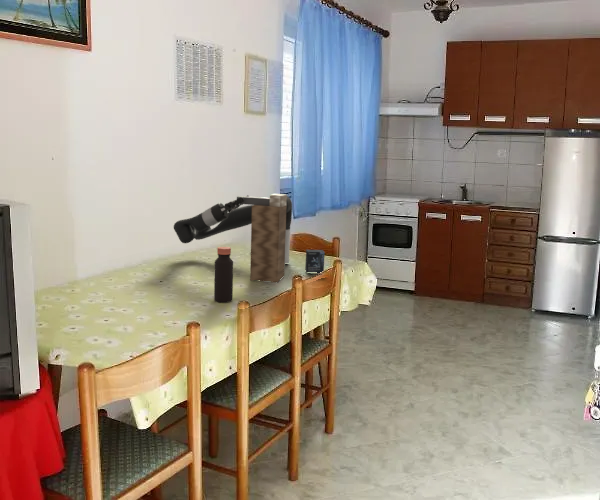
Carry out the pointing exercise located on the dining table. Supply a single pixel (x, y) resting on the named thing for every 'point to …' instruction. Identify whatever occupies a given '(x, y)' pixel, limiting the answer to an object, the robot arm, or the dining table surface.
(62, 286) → the dining table surface
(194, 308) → the dining table surface
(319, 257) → the box
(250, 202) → the dark grey matte block
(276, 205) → the stand
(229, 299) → the bottle
